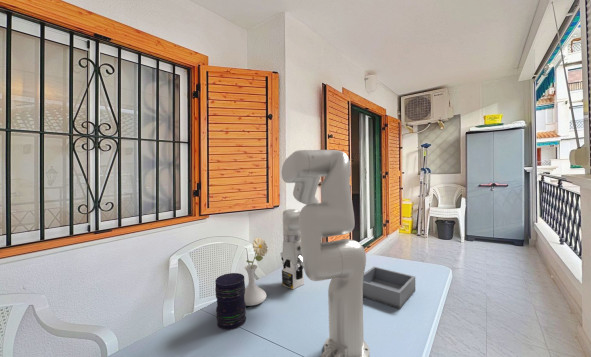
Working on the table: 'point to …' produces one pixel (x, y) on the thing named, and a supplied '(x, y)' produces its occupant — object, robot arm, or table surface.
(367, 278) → the bin
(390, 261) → the table surface
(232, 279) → the dark blue cylinder
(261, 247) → the flower in vase
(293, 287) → the medicine bottle
